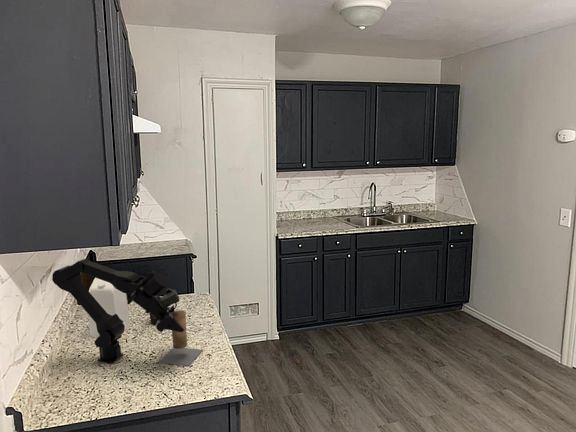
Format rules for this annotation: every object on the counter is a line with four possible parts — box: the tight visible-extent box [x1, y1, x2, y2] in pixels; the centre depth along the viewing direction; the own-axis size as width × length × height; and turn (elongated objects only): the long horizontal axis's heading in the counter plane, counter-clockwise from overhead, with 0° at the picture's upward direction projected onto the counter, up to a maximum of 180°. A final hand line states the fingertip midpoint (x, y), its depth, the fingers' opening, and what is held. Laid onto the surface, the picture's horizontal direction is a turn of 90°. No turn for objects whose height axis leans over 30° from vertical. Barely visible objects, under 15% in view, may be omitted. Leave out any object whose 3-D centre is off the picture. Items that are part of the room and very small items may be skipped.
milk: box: [88, 277, 132, 337], centre depth 186 cm, size 12×12×26 cm
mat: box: [157, 347, 204, 367], centre depth 164 cm, size 12×12×1 cm
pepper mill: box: [171, 310, 188, 349], centre depth 162 cm, size 5×5×12 cm
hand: (183, 328), depth 162 cm, fingers closed on pepper mill, 5 cm apart
